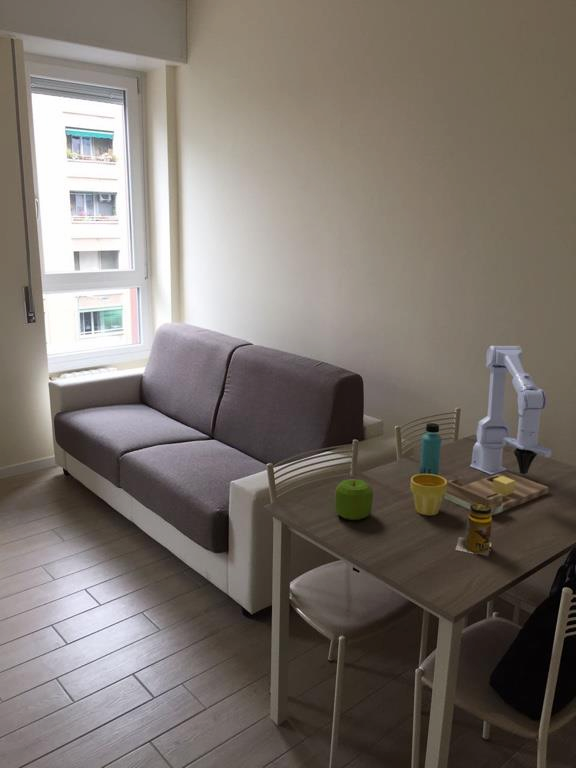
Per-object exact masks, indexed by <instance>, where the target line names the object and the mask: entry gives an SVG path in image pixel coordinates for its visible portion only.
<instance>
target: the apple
mask: <svg viewBox="0 0 576 768" xmlns="http://www.w3.org/2000/svg"><path fill="white" fill-rule="evenodd" d="M373 499H374V493H373V488H372V487H371V486H370V485H369V484H368V483H367V482H366V481H365V480H361V479H357V478H356V479H355V478H353V479H352V478H347V479H344V480H342V481H341V482H339V483H338V484H337V485H336V487H335V491H334V507H335V513H336V514H337V515H339V516H340V517H341V518H342V519H344V520H347V519H348V520H347V521H358V520H361V519H364V518H367V517H368V516H369V515H370V514H371V512H372V507H373Z"/></svg>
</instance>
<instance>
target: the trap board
mask: <svg viewBox="0 0 576 768" xmlns="http://www.w3.org/2000/svg"><path fill="white" fill-rule="evenodd" d="M501 476H504V477H507V478H509V479H512V480H515V486H514V493H512V494H509V495H506V496H503V495H502V494H498V493H496V492H493V491H492V489H493V479H495V478H498V477H501ZM446 481H447V491H446V494H445V495H443V499H445V500H448V501H450V502H452V503H454V504H457V505H458V506H461V507H463V508H465V509H467V510H469V511H470V506H471V505H472V504H473V503H484V504H487V505H489V506H490V507H491V517H493V516H494V515H497V514H499V513H503V512H505V511H507V510H509V509H512V508H514V507H516V506H519V505H522V504H524V503H527V502H529V501H532V500H535V499H537V498H539V497H542V496H545V495H547V494H549V486H547V485H544V484H542V483H538V482H536V481H533V480H531V479H529V478H525V477H522V476H520V475H518V474H514V473H512V472H509V471H507V470H505V471H502V472H499V473H496V474H493V475H490V476H486V477H484V478H481V479H479V480H476V481H472V482H469V483H468V484H464V485H463V477H462V476H458V477H455V478H451V479H449V480H446Z"/></svg>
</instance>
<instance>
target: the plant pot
mask: <svg viewBox="0 0 576 768" xmlns="http://www.w3.org/2000/svg"><path fill="white" fill-rule="evenodd" d="M447 481H448V480H447V479H446V478H444V477H443V476H440V475H439V476H438V475H433V474H420V473H418V474H414V475H413V476H412V477H411V478H410V491H411V492H412V495H413V501H414V507H415V508H414V509H415V511H416V512H417V513H418V514H420V515H423V516H436V515H437V514H439V512H440V509H441V505H442V502H443V499H444V495H445V494H446V491H447Z"/></svg>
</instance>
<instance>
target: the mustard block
mask: <svg viewBox="0 0 576 768" xmlns="http://www.w3.org/2000/svg"><path fill="white" fill-rule="evenodd" d="M514 486H515V480H512V479H509V478H507V477H504V476H501V477H498V478H495V479H493V489H492V491H493V492H496V493H498V494H502V495H503V496H506V495H509V494H512V493H514Z"/></svg>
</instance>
